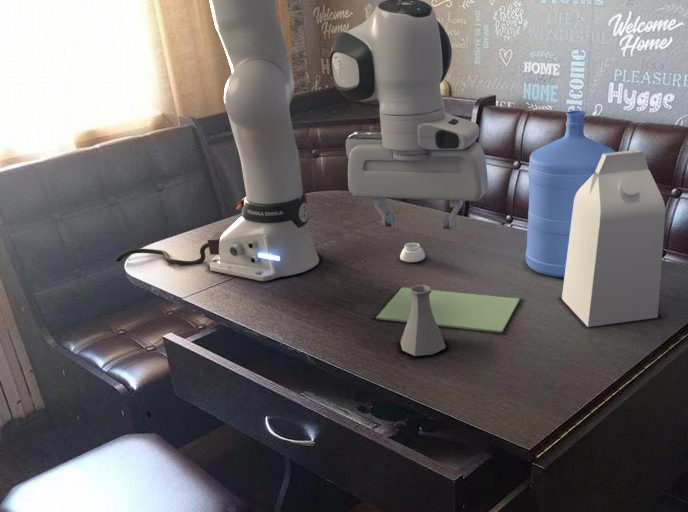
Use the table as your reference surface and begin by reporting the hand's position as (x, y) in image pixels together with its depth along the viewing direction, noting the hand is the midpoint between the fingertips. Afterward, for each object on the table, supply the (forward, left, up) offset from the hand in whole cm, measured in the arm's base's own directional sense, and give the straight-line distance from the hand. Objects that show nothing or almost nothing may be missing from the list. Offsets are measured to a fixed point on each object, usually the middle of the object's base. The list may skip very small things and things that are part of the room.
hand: (419, 227), depth 113 cm
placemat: (0, +13, -20) cm, 24 cm away
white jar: (-14, +34, -20) cm, 42 cm away
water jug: (+16, +38, -20) cm, 46 cm away
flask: (0, -1, -20) cm, 20 cm away
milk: (+26, +20, -20) cm, 39 cm away
